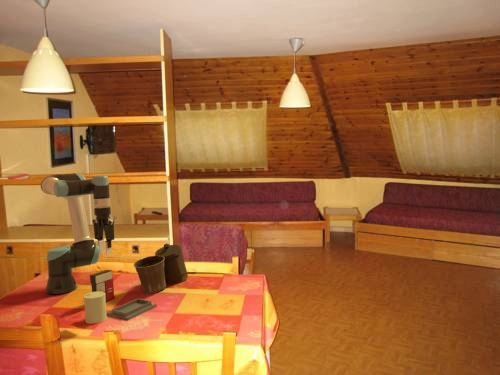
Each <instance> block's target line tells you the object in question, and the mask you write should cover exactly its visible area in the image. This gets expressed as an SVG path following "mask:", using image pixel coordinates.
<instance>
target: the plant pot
mask: <svg viewBox="0 0 500 375" xmlns="http://www.w3.org/2000/svg"><path fill="white" fill-rule="evenodd" d="M164 260H165V258H164V257H163V256H161V259H159V258H158V256H155V255H150V256H146V257H143V258H140V259H138V260H136V261H135V262H134V263H133V267H134V268H135V271H136V273H137V275H138V278H139V282H140V285H141V287H142V288H141V290H142V292H144V293H146V294H157V293H159V292H160V291H163V290H165V289H166V287H167V283H166V282H165V272H164Z"/></svg>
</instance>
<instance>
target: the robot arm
mask: <svg viewBox="0 0 500 375" xmlns="http://www.w3.org/2000/svg"><path fill="white" fill-rule="evenodd" d="M40 190H41V191H42V192H43V193H45V194H46V195H50V196H51V195H52V196H55V197H57V198H63V199H64V200H66V201H67V202H66V203H67V207H68V213H69V218H70V223H71V229H72V235H73V242H72V244H71V245H72V246H70V244H61V245H57V246H54V247H52V248H50V249H48V251H47V253H46V260H47V261H46V262H47V272H48V273H47V274H48V278H47V281H46V286H45V293H47V294H50V295H57V294H64V293H68V292H72V291H74V290H75V289H77V281H76V280H75V277H74V275H73V271H72V270H73V269H75V268H80V267H81V268H82V267H87V266H91V265H95V264H97V263H98V262H99V259H100V255H103V254H105V255H106V256H109V255H112V254H113V253H112V241H113V240H114V241H115V220H114V219H113V220H112V219H111V217H110V216H111V214H112V212H111V209H112V208H111V196H110V181H109V177H108V175H105V174H103V175H100V174H99V175H93V176H92V177H91V178H89V179H86V177H85V175H83V174H82V173H76V172H72V173H61V174H57V173H56V174H51V175H48V176H45V178H43V179H42V180H41V182H40ZM86 195H92V196H93V197H92V198H93V207H94V208H93V211H94V212H93V213H94V216H96V217H95V219H92V220H91V221H92V226H93V235H94V239H93V238H92V237H91V235H90V234H91V233H90V227H89V223H88V217H87V211H86V205H85V202H84V197H85V196H86ZM104 236H105V238H104ZM95 240H97V242H95Z"/></svg>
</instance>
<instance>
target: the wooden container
mask: <svg viewBox="0 0 500 375" xmlns="http://www.w3.org/2000/svg"><path fill="white" fill-rule="evenodd" d="M154 256H158V258H159V259H161V256H163V257H164V258H165V260H164V272H165V282H166V284H167V285H168V284H169V285H174V284H180V283H183V282H185V281H186V280H187V279H188V276H189V275H188V272H187V267H186V263H185V259H184V256H183V252H182V248H181V245H178V244H169V243H165V244H163V246H162V247H160V248H159V249H157V250H156V251H155V253H154Z"/></svg>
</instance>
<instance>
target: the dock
mask: <svg viewBox="0 0 500 375" xmlns="http://www.w3.org/2000/svg"><path fill="white" fill-rule="evenodd" d="M155 308H157V304H156V303H153V302H152V300H147V299H143V298H136V299H134V300H130V301H129V302H127V303H124V304H122V305H121V304H120V305H119V306H116V307H115V308H113V309H111V310H109V311H106V315H107V316H111V317H115V318H119V319H122V320H126V321H131V320H132V319H134V318H136V317H138V316H139V315H143V314H144V313H146V312H149V311H151V310H153V309H155Z"/></svg>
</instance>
